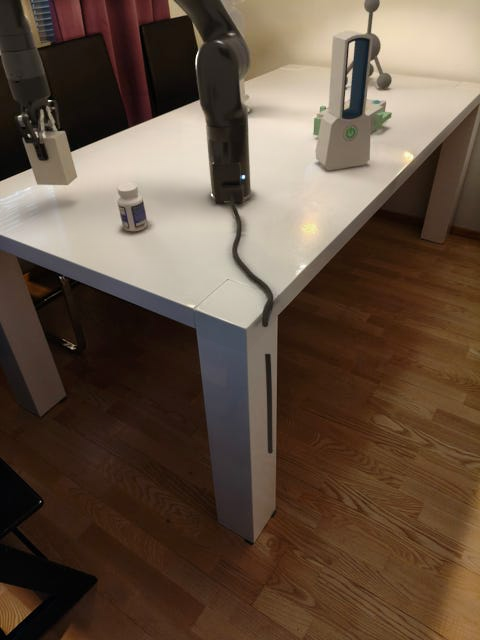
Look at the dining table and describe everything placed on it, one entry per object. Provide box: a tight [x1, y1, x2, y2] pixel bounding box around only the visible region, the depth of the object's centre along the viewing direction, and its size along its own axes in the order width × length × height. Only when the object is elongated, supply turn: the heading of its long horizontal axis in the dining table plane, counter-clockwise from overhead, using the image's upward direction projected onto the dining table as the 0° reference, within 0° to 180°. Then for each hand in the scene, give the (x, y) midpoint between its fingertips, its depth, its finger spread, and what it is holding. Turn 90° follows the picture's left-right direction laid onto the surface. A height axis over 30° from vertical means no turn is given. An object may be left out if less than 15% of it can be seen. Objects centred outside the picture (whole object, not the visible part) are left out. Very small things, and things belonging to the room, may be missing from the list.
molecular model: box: [346, 0, 393, 90], centre depth 184 cm, size 24×22×30 cm
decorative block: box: [313, 98, 393, 136], centre depth 149 cm, size 26×6×20 cm
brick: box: [22, 130, 78, 186], centre depth 111 cm, size 5×8×11 cm, turn 80°
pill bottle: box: [117, 182, 148, 232], centre depth 102 cm, size 5×5×9 cm
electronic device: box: [315, 30, 373, 171], centre depth 119 cm, size 12×8×30 cm, turn 105°
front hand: (49, 155), depth 110 cm, fingers closed on brick, 5 cm apart
